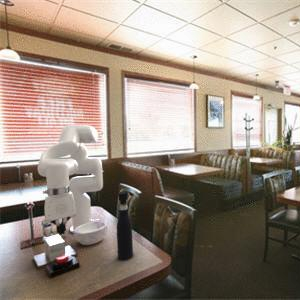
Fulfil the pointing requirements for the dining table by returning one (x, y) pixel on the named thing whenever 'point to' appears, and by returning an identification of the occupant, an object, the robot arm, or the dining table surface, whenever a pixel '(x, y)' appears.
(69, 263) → the control block
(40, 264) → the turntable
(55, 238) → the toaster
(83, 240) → the white round bowl
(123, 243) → the wine bottle
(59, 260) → the button
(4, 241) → the dining table surface
